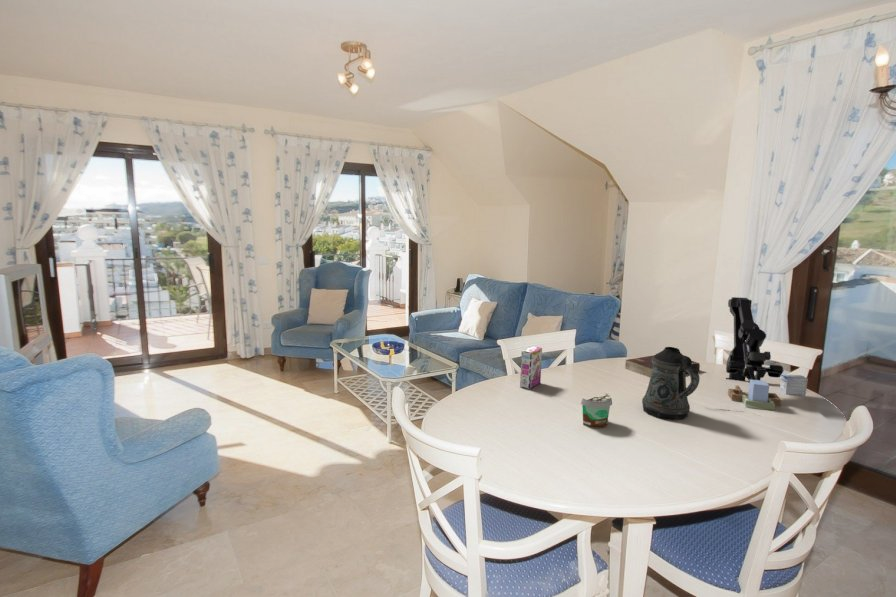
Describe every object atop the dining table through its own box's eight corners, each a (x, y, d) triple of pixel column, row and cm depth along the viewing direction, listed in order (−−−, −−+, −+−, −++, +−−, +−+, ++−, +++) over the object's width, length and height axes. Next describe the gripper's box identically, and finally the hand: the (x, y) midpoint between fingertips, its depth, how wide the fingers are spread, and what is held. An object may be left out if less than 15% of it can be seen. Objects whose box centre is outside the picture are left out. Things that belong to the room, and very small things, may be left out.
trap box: (724, 393, 202) (725, 384, 202) (770, 398, 197) (771, 388, 196) (734, 409, 184) (735, 399, 184) (784, 415, 179) (786, 405, 178)
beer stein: (647, 400, 193) (651, 340, 189) (701, 411, 182) (706, 347, 178) (636, 413, 180) (641, 349, 176) (694, 426, 169) (699, 357, 165)
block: (747, 401, 189) (750, 379, 188) (762, 403, 187) (764, 380, 186) (751, 406, 183) (753, 384, 182) (766, 408, 182) (769, 385, 180)
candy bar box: (530, 389, 206) (531, 352, 203) (519, 387, 208) (520, 350, 206) (541, 383, 215) (542, 347, 212) (531, 380, 217) (532, 345, 215)
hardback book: (656, 380, 220) (657, 370, 219) (625, 369, 237) (625, 359, 236) (699, 372, 232) (700, 362, 232) (666, 362, 249) (667, 353, 248)
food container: (592, 432, 164) (594, 404, 162) (579, 425, 169) (581, 398, 168) (618, 425, 169) (620, 398, 168) (605, 419, 175) (607, 392, 173)
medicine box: (798, 394, 201) (801, 374, 200) (805, 398, 197) (808, 378, 195) (778, 394, 202) (781, 374, 201) (785, 397, 198) (787, 377, 196)
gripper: (730, 341, 193) (733, 375, 184) (784, 345, 187) (790, 381, 178) (724, 355, 202) (727, 388, 193) (776, 359, 195) (782, 394, 187)
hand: (756, 388), depth 187 cm, fingers closed, pressing on block
